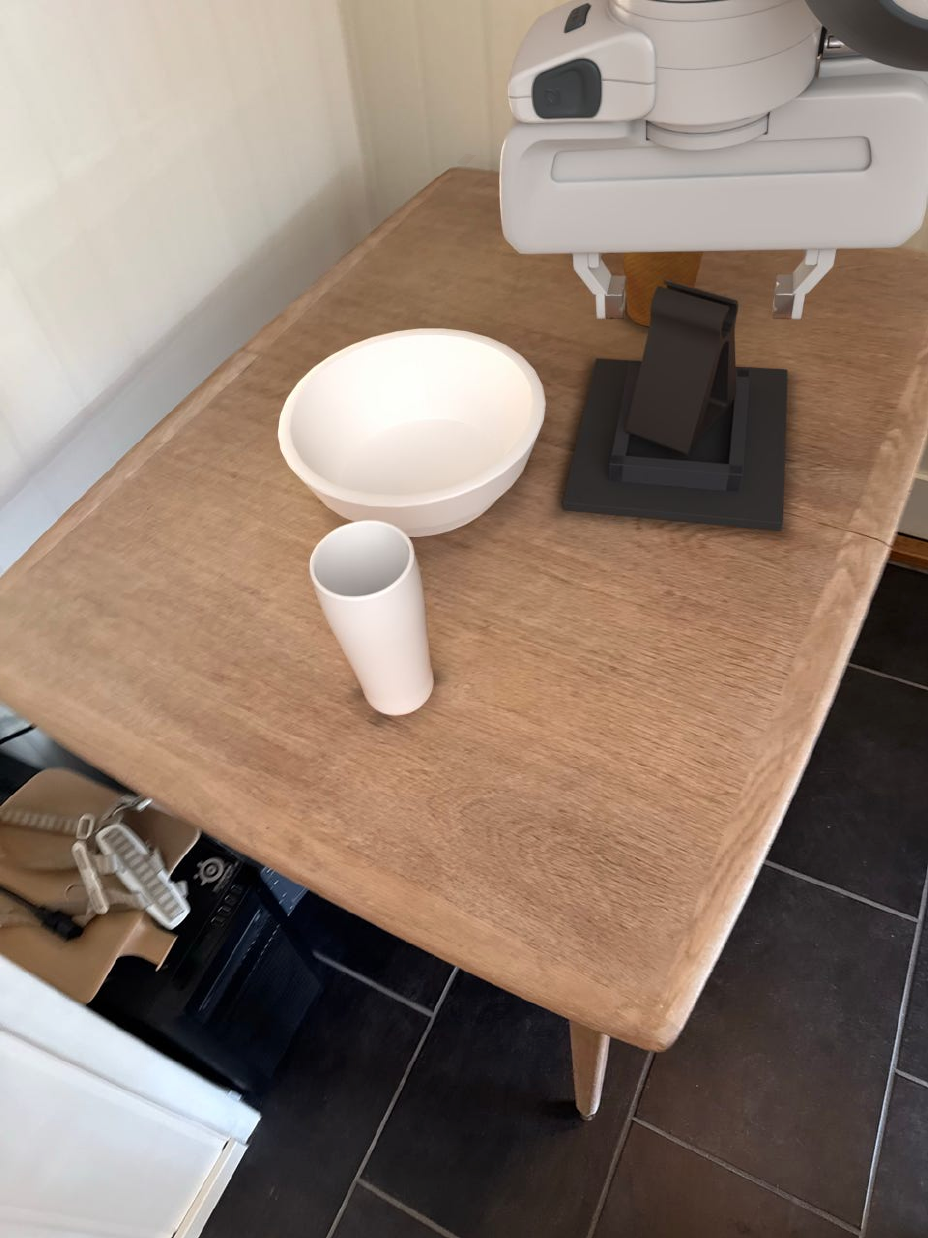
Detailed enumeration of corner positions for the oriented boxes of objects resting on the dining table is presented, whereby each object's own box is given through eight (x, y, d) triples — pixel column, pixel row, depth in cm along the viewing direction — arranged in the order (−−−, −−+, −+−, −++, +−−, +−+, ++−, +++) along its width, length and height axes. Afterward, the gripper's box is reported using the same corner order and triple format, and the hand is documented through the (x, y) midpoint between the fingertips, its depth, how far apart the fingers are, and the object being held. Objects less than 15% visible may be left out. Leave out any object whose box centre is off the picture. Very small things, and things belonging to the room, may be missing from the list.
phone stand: (675, 376, 80) (688, 254, 71) (736, 397, 78) (758, 273, 68) (624, 434, 76) (631, 312, 67) (687, 457, 74) (703, 335, 64)
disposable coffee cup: (710, 333, 88) (726, 218, 79) (615, 340, 89) (619, 227, 80) (697, 280, 94) (711, 167, 85) (607, 287, 95) (611, 176, 86)
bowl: (282, 579, 74) (253, 510, 67) (320, 406, 88) (299, 334, 81) (550, 571, 72) (547, 498, 65) (546, 394, 85) (544, 319, 79)
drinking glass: (403, 637, 69) (367, 502, 57) (463, 685, 66) (437, 552, 54) (337, 691, 67) (285, 562, 55) (396, 744, 63) (354, 619, 51)
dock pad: (785, 377, 83) (791, 350, 81) (780, 531, 72) (787, 505, 69) (595, 366, 87) (596, 340, 85) (562, 510, 76) (561, 485, 73)
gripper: (974, -18, 37) (897, 277, 48) (501, 24, 42) (530, 280, 53) (989, 50, 33) (903, 351, 44) (472, 86, 39) (509, 346, 50)
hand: (696, 312), depth 49 cm, fingers open, 8 cm apart
